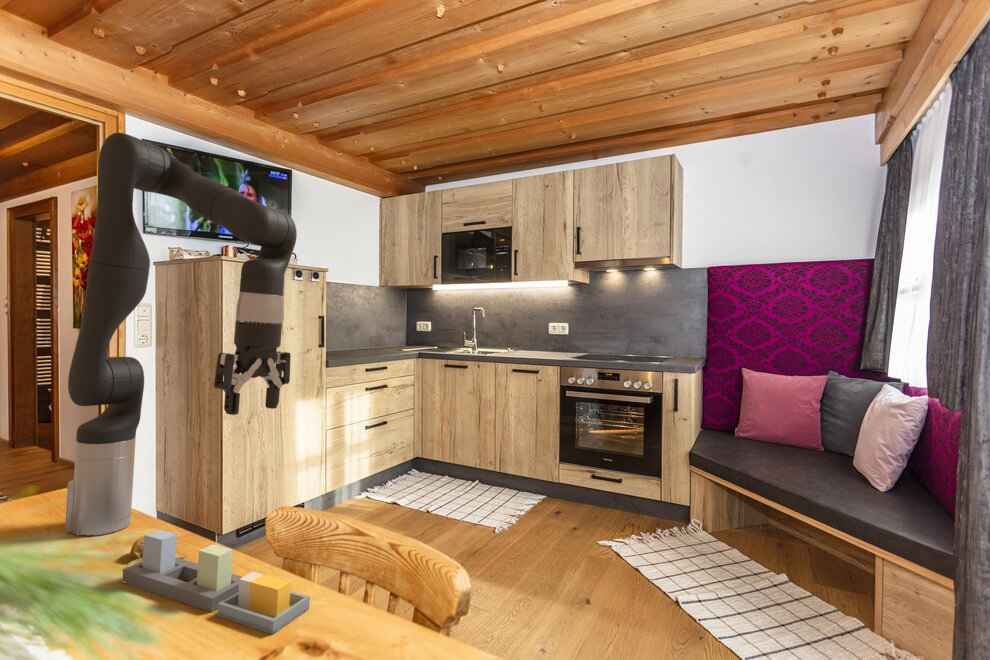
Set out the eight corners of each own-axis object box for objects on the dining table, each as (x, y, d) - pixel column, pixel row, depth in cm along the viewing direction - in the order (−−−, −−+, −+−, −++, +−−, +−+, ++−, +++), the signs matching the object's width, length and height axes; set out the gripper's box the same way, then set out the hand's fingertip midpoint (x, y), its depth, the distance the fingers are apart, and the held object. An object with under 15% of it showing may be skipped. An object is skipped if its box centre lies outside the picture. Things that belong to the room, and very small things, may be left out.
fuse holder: (122, 582, 79) (122, 569, 79) (161, 565, 85) (162, 553, 85) (211, 612, 72) (212, 598, 72) (248, 591, 78) (248, 578, 78)
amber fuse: (239, 579, 73) (278, 589, 70) (252, 571, 75) (290, 581, 73) (237, 606, 73) (276, 618, 70) (251, 598, 75) (289, 609, 73)
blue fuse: (141, 579, 80) (144, 535, 80) (156, 572, 82) (159, 529, 82) (159, 584, 78) (161, 540, 79) (174, 577, 81) (176, 534, 81)
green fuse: (196, 597, 76) (198, 550, 76) (210, 589, 78) (213, 544, 78) (215, 603, 74) (218, 556, 74) (230, 595, 77) (232, 549, 77)
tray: (217, 616, 71) (218, 603, 71) (256, 593, 78) (257, 581, 78) (272, 634, 68) (273, 621, 68) (309, 608, 74) (309, 596, 74)
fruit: (130, 576, 81) (132, 553, 81) (115, 559, 86) (116, 537, 87) (187, 559, 88) (188, 538, 88) (170, 545, 93) (171, 525, 93)
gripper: (274, 320, 97) (267, 403, 97) (208, 316, 84) (200, 413, 84) (305, 323, 94) (298, 409, 94) (241, 319, 81) (233, 419, 81)
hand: (252, 411), depth 89 cm, fingers open, 8 cm apart
